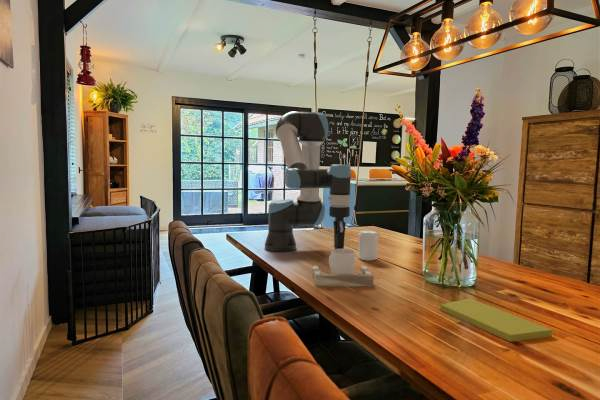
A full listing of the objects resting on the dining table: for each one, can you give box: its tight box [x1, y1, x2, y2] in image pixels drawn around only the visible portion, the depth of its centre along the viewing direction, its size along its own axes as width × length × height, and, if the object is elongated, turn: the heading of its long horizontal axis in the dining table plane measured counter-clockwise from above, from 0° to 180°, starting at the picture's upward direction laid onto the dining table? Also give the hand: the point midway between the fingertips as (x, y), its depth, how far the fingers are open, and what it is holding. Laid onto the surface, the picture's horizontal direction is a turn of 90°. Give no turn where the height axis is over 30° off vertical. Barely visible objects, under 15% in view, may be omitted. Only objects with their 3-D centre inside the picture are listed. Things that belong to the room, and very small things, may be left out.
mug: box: [328, 248, 356, 274], centre depth 139 cm, size 12×8×10 cm
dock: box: [312, 265, 375, 287], centre depth 137 cm, size 13×20×4 cm, turn 92°
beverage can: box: [357, 229, 379, 262], centre depth 167 cm, size 8×8×12 cm
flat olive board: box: [439, 298, 553, 343], centre depth 102 cm, size 12×2×24 cm
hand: (338, 267), depth 146 cm, fingers closed
